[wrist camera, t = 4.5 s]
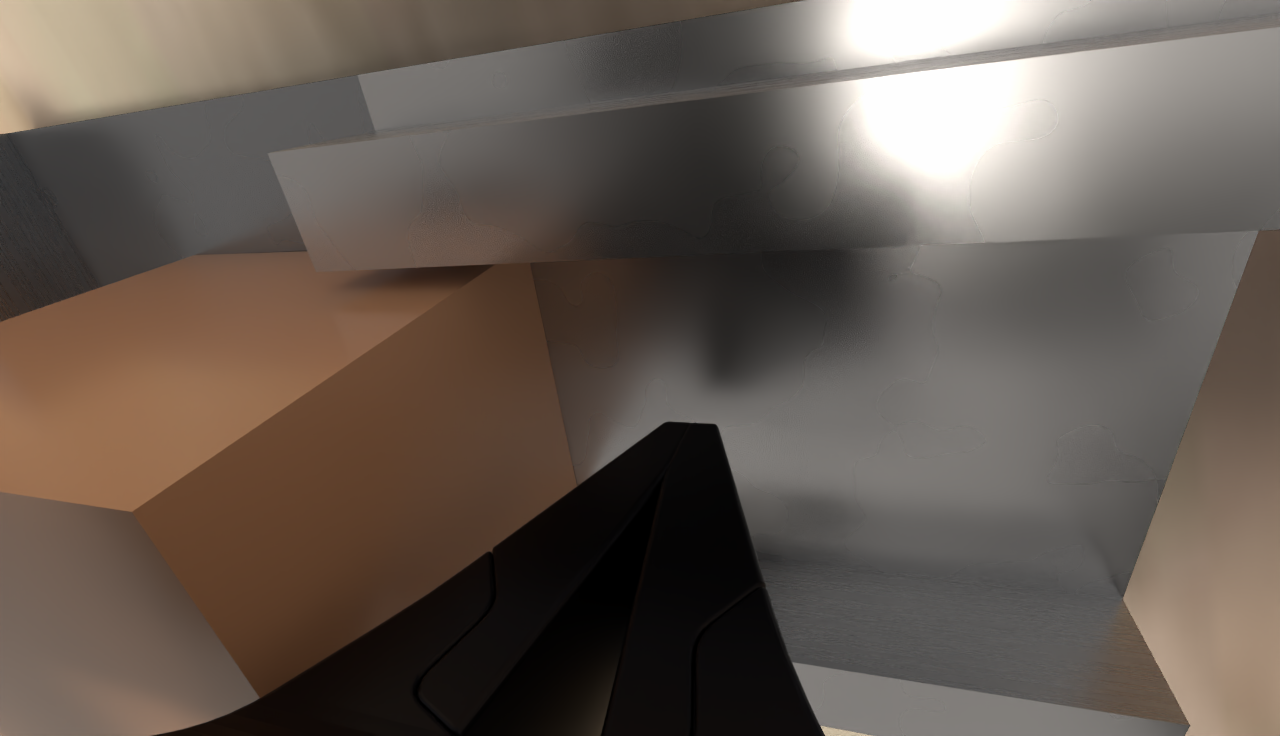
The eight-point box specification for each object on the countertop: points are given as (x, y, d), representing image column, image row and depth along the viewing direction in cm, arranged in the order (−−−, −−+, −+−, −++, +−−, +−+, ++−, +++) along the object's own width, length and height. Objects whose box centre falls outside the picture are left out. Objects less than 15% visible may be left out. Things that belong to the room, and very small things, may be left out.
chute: (1301, -78, 6) (1657, -164, 3) (1069, 638, 11) (1142, 816, 8) (32, 132, 12) (-182, 158, 9) (264, 533, 17) (167, 620, 14)
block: (525, 243, 9) (131, 511, 4) (579, 495, 11) (376, 866, 6) (194, 255, 11) (-342, 439, 6) (297, 466, 13) (-25, 726, 8)
